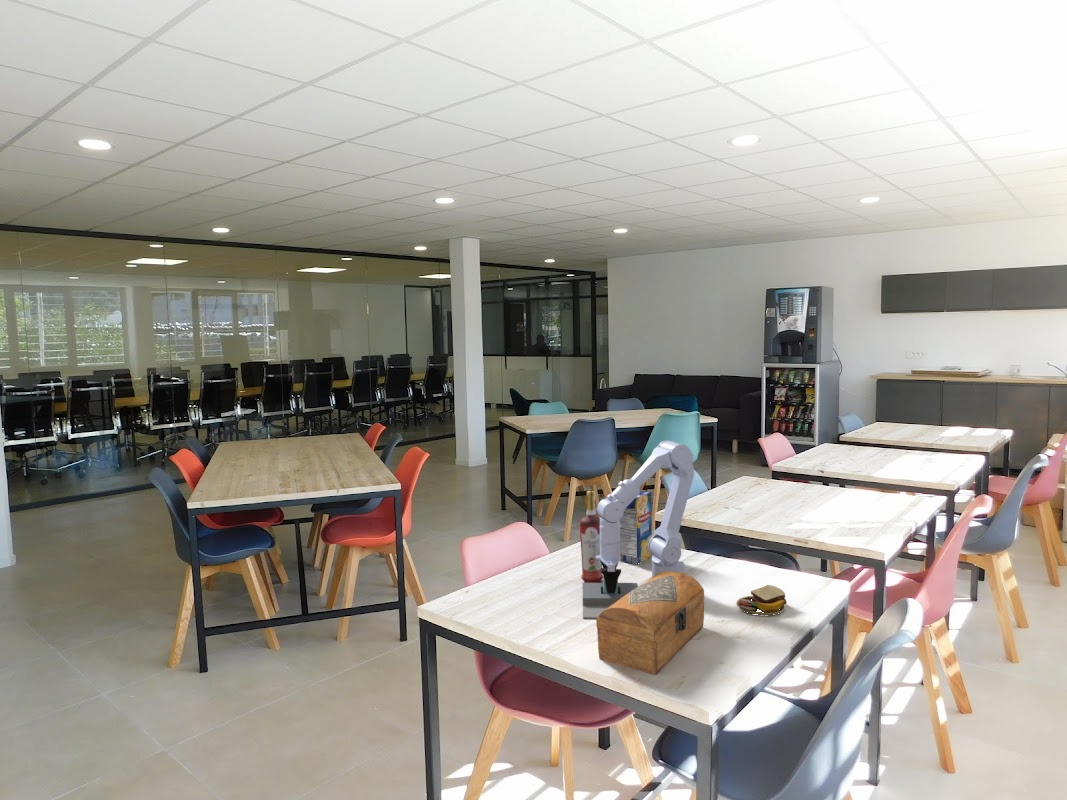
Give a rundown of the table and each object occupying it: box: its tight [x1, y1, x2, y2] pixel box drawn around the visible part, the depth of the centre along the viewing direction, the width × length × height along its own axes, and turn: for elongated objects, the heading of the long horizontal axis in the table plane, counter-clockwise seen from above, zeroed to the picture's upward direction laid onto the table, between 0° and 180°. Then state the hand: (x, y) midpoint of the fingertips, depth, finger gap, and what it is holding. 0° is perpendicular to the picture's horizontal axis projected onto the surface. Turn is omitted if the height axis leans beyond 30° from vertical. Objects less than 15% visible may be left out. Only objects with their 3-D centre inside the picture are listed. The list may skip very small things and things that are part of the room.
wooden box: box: [595, 571, 705, 676], centre depth 168 cm, size 30×16×14 cm, turn 144°
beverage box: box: [619, 490, 653, 565], centre depth 231 cm, size 7×11×22 cm, turn 145°
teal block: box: [602, 576, 619, 594], centre depth 196 cm, size 4×4×8 cm
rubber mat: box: [582, 604, 610, 620], centre depth 187 cm, size 8×8×1 cm
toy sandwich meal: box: [735, 584, 787, 615], centre depth 188 cm, size 12×14×5 cm
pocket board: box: [582, 582, 639, 606], centre depth 197 cm, size 16×12×2 cm
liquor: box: [578, 490, 603, 583], centre depth 210 cm, size 7×7×28 cm
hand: (610, 587), depth 196 cm, fingers open, 7 cm apart
